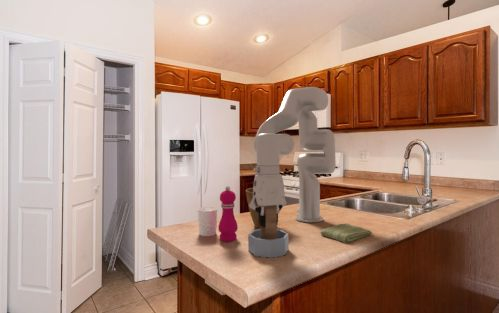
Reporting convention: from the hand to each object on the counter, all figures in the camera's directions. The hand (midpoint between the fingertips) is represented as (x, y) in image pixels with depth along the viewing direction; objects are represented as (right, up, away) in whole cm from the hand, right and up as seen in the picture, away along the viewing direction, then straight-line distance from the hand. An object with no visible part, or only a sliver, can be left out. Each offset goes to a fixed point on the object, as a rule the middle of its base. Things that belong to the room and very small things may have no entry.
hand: (268, 225), depth 94 cm
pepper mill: (-14, -8, +12) cm, 21 cm away
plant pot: (0, -8, +30) cm, 31 cm away
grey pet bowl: (0, -8, 0) cm, 9 cm away
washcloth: (+31, -8, +16) cm, 36 cm away
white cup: (-23, -8, +19) cm, 31 cm away
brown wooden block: (0, -6, 0) cm, 6 cm away
